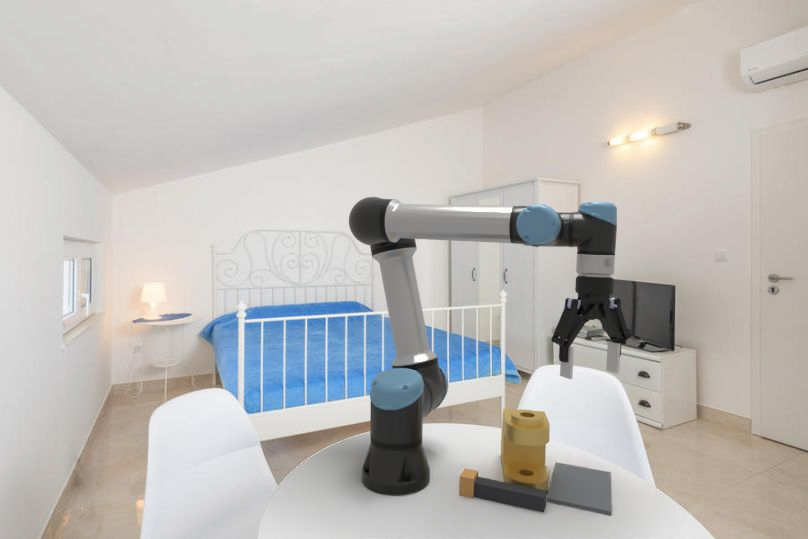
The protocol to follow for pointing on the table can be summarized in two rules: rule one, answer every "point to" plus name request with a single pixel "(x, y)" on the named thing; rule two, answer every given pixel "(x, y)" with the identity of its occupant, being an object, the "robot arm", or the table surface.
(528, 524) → the table surface
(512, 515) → the table surface
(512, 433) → the gold clevis bracket
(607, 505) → the mat
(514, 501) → the dark grey bar
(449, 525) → the table surface
